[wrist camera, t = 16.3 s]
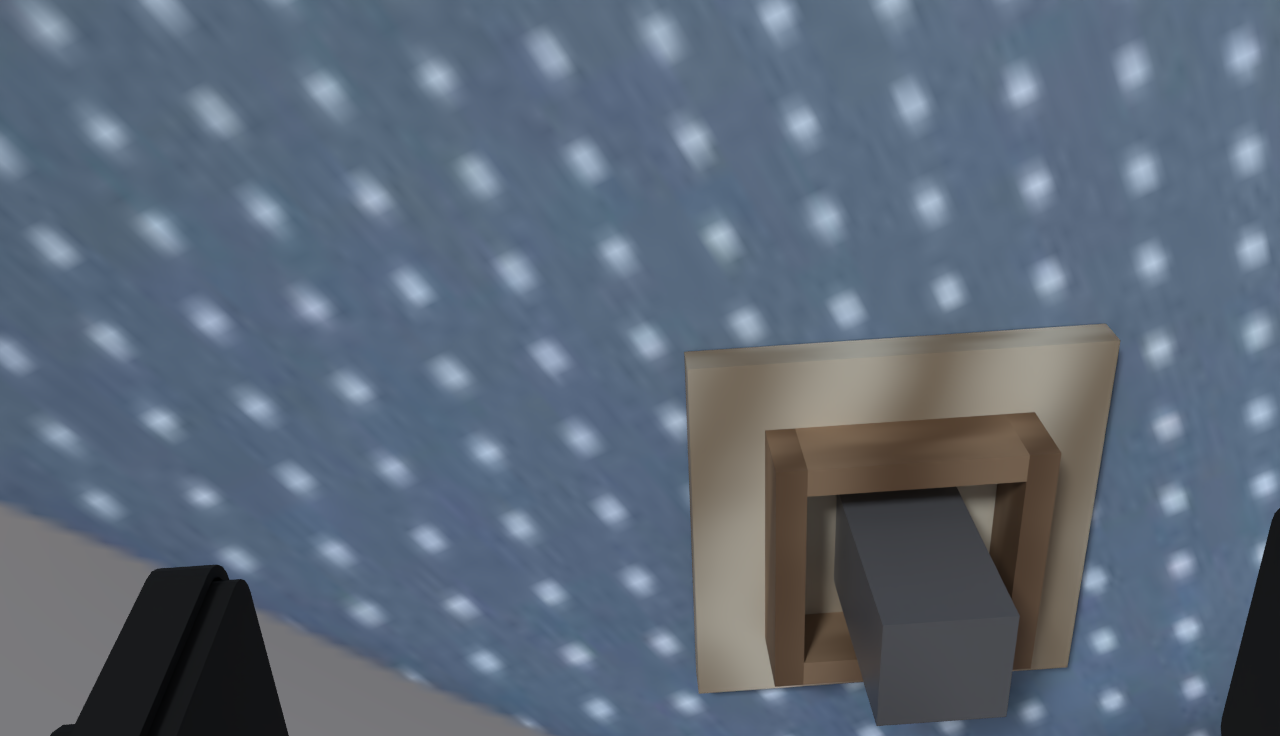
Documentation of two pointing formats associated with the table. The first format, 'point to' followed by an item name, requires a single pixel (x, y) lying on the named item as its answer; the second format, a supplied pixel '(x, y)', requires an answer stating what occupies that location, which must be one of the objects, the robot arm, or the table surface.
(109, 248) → the table surface
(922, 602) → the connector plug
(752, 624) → the end holder
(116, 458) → the table surface
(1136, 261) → the table surface
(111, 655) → the robot arm
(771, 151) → the table surface
